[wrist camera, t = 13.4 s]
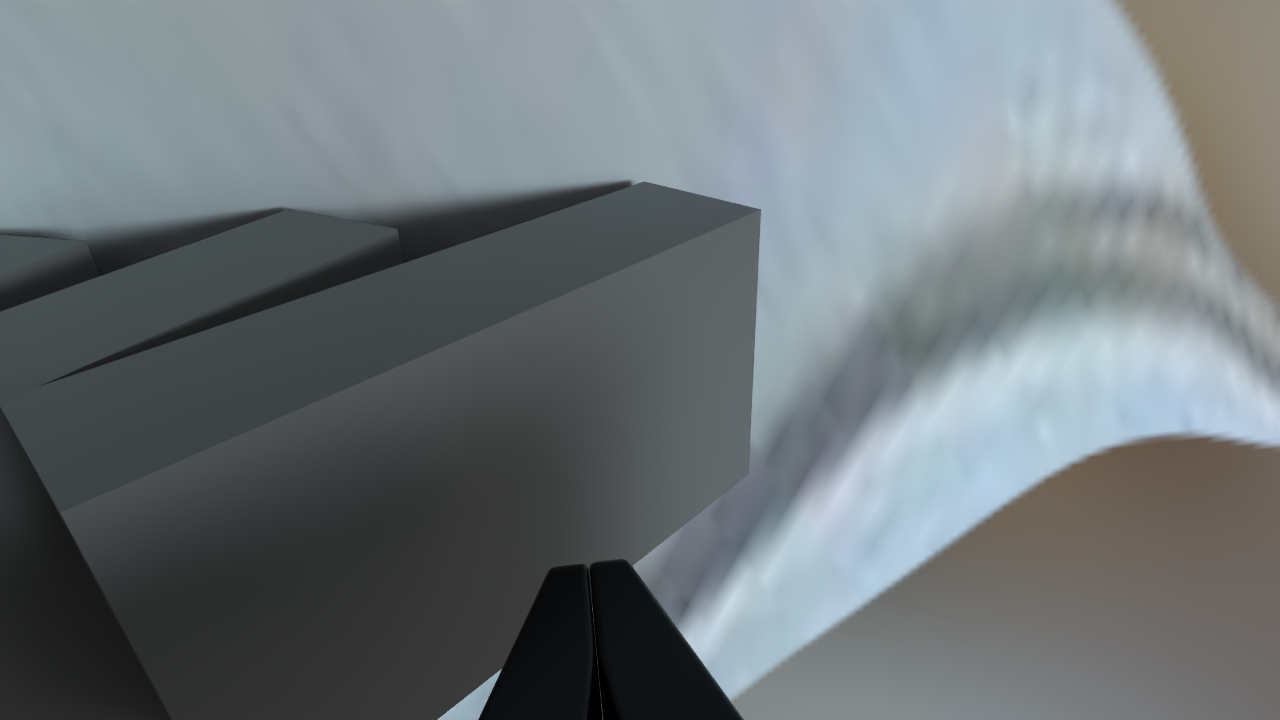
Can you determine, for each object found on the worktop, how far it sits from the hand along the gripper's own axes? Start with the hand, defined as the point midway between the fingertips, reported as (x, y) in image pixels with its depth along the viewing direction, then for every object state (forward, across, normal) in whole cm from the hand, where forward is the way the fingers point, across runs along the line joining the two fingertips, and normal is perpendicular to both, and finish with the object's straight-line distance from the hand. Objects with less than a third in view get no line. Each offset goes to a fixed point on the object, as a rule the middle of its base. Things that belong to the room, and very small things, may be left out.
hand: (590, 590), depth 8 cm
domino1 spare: (+6, -2, 0) cm, 6 cm away
